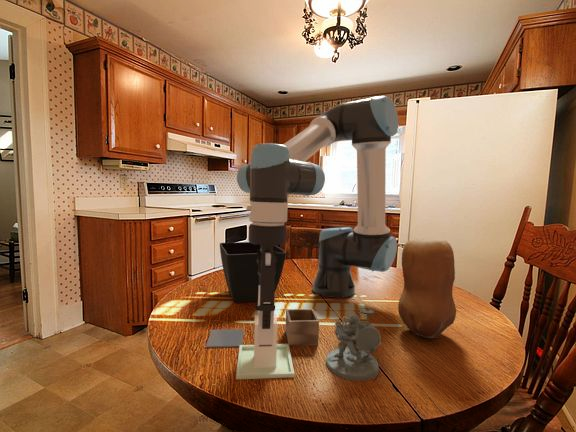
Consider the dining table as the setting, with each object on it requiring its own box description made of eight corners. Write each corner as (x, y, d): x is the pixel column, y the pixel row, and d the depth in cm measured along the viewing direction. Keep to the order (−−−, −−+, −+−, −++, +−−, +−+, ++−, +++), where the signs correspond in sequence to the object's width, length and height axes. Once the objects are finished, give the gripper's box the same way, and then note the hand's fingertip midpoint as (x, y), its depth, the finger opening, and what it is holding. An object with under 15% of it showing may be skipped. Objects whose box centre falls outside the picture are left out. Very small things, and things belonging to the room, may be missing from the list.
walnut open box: (312, 331, 75) (313, 309, 75) (318, 346, 68) (319, 321, 68) (285, 332, 74) (286, 309, 74) (288, 346, 67) (288, 321, 67)
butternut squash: (399, 319, 84) (404, 232, 82) (452, 329, 78) (459, 237, 76) (394, 340, 72) (400, 239, 70) (457, 355, 66) (465, 245, 64)
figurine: (321, 352, 66) (323, 300, 65) (368, 351, 66) (370, 300, 66) (332, 383, 55) (335, 321, 54) (388, 381, 56) (391, 320, 55)
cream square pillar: (275, 355, 63) (276, 314, 63) (276, 367, 59) (277, 323, 58) (253, 355, 63) (254, 314, 62) (253, 368, 58) (254, 324, 58)
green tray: (288, 348, 67) (288, 343, 67) (294, 378, 56) (294, 373, 56) (239, 349, 66) (239, 345, 66) (235, 380, 55) (236, 375, 55)
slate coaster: (243, 331, 74) (243, 329, 74) (241, 348, 66) (242, 345, 66) (211, 332, 73) (211, 329, 73) (205, 349, 65) (205, 346, 65)
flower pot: (285, 302, 94) (287, 251, 93) (226, 309, 88) (227, 253, 87) (269, 284, 112) (270, 241, 111) (218, 289, 106) (219, 242, 104)
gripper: (250, 218, 71) (247, 304, 72) (246, 230, 46) (242, 361, 47) (281, 219, 71) (278, 304, 73) (294, 231, 47) (289, 360, 48)
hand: (264, 327), depth 60 cm, fingers open, 13 cm apart
